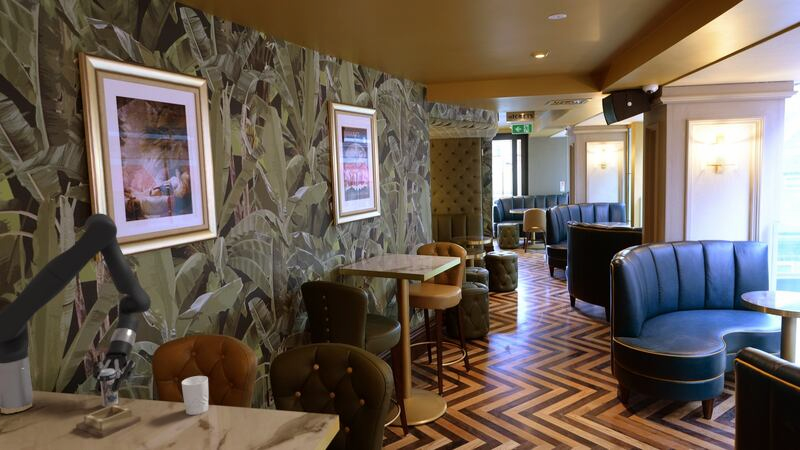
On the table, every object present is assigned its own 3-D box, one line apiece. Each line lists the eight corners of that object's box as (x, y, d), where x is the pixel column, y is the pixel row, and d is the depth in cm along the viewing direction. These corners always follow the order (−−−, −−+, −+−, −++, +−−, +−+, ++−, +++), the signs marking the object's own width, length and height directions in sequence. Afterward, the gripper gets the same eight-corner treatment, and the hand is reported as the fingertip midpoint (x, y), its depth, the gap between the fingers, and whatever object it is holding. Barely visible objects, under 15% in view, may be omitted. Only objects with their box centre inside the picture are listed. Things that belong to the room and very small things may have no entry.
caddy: (76, 428, 167) (75, 416, 167) (114, 412, 177) (113, 401, 177) (103, 437, 160) (102, 425, 159) (140, 420, 170) (139, 409, 170)
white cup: (182, 417, 171) (180, 386, 170) (185, 407, 179) (183, 377, 178) (209, 413, 173) (207, 382, 172) (211, 403, 181) (208, 374, 180)
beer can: (106, 409, 180) (103, 373, 179) (99, 406, 183) (96, 371, 182) (121, 404, 184) (118, 369, 183) (114, 401, 187) (111, 366, 186)
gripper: (96, 340, 189) (78, 387, 178) (137, 338, 189) (122, 385, 178) (106, 350, 195) (89, 396, 184) (146, 348, 195) (132, 395, 184)
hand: (106, 390), depth 181 cm, fingers closed on beer can, 4 cm apart
